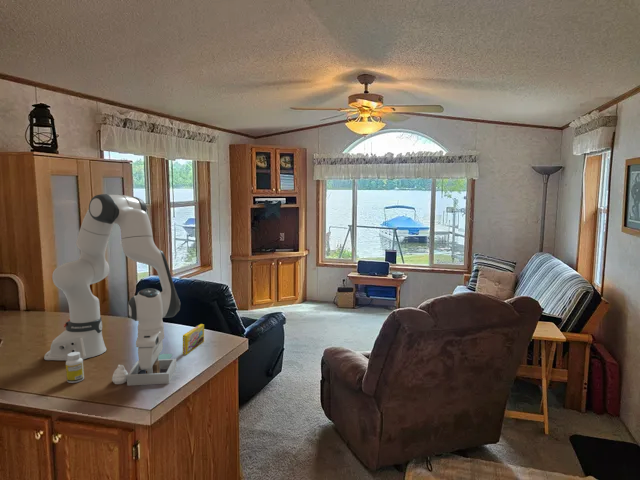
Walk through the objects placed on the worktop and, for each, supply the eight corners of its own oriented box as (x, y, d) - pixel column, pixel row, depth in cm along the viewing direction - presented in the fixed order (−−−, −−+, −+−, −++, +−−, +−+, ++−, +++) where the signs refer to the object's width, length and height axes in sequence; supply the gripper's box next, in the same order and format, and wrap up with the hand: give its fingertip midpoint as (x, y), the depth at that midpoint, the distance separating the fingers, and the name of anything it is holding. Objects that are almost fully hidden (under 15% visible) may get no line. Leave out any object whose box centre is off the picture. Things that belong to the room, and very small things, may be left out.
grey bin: (127, 385, 158) (126, 375, 157) (138, 369, 171) (137, 360, 171) (169, 383, 159) (168, 373, 159) (176, 367, 173) (176, 358, 173)
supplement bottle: (71, 377, 165) (69, 351, 163) (86, 376, 165) (85, 350, 164) (64, 383, 159) (62, 356, 158) (80, 383, 160) (78, 356, 158)
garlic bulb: (130, 362, 163) (124, 368, 158) (131, 378, 164) (125, 384, 158) (115, 362, 163) (108, 368, 158) (116, 378, 164) (109, 384, 158)
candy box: (187, 355, 186) (186, 335, 185) (182, 354, 187) (181, 335, 186) (204, 342, 202) (204, 323, 201) (200, 341, 202) (199, 323, 201)
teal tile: (136, 367, 173) (136, 365, 173) (144, 356, 184) (144, 354, 184) (166, 366, 175) (166, 364, 175) (172, 355, 185) (172, 353, 185)
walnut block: (145, 378, 163) (145, 365, 163) (148, 374, 167) (147, 361, 167) (157, 378, 164) (156, 364, 163) (159, 373, 168) (159, 360, 167)
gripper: (149, 326, 173) (150, 361, 175) (134, 344, 153) (136, 383, 155) (166, 325, 174) (167, 360, 176) (153, 343, 154) (155, 382, 156)
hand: (152, 371), depth 165 cm, fingers open, 6 cm apart
